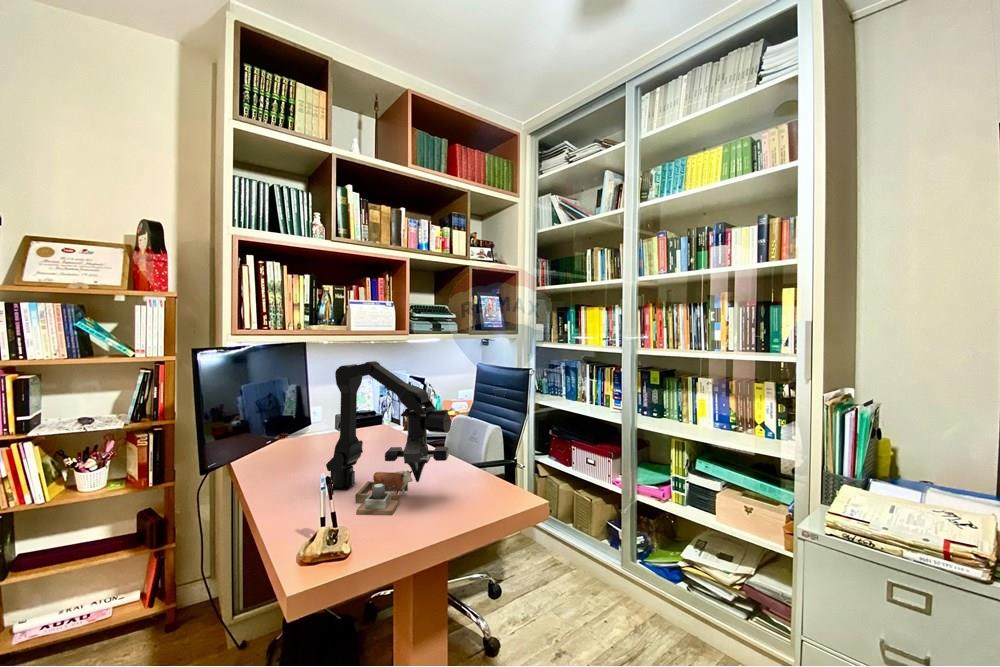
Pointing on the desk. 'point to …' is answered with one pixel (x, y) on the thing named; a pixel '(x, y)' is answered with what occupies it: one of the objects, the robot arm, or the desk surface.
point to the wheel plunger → (378, 491)
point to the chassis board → (377, 501)
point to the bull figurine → (393, 479)
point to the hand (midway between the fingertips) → (417, 481)
